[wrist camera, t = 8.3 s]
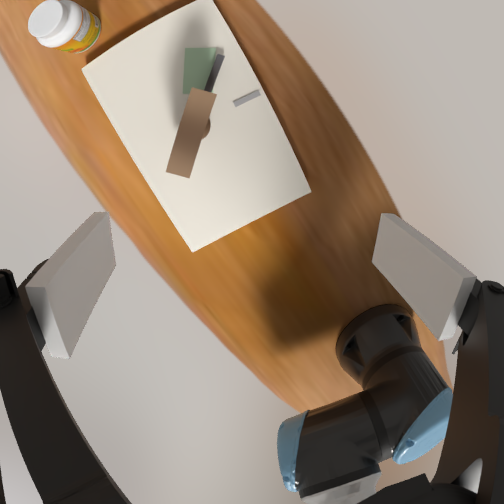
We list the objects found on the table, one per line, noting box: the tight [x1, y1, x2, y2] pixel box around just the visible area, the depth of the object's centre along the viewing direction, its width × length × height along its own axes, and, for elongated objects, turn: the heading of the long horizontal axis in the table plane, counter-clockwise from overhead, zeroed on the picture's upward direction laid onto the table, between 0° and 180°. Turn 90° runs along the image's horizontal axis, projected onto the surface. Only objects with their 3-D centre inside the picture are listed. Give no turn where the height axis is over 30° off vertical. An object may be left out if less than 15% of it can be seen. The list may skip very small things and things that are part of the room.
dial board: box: [81, 0, 312, 252], centre depth 32 cm, size 26×16×2 cm, turn 27°
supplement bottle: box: [28, 0, 101, 53], centre depth 22 cm, size 5×5×10 cm
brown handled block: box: [166, 54, 225, 178], centre depth 26 cm, size 12×3×10 cm, turn 161°
